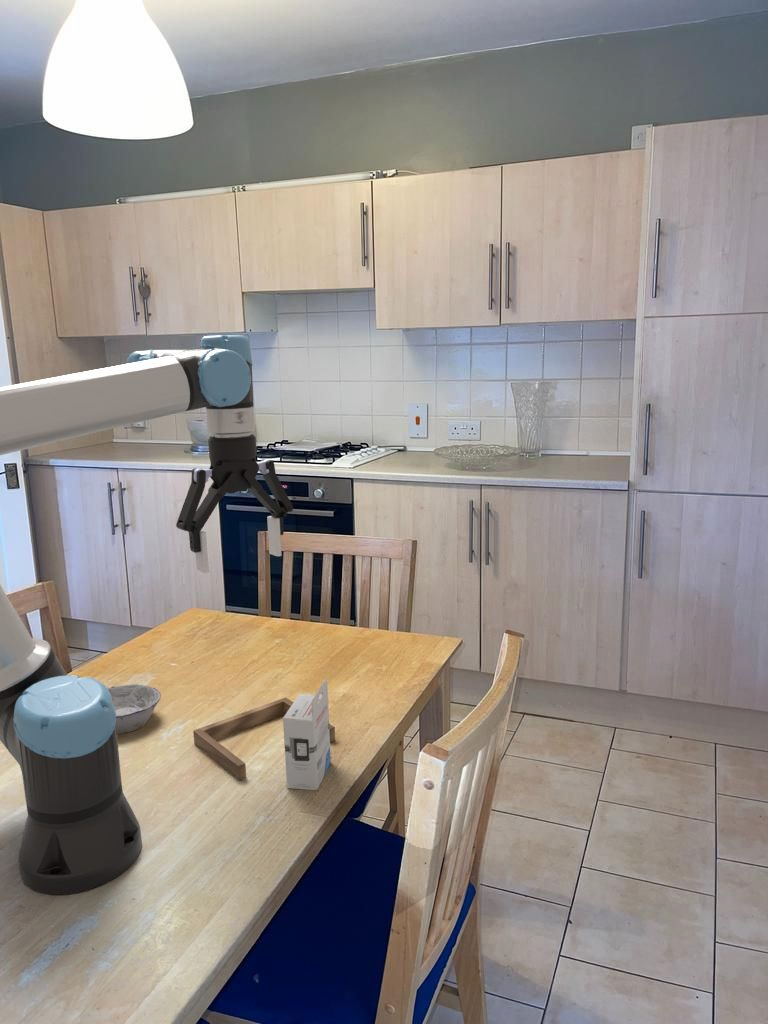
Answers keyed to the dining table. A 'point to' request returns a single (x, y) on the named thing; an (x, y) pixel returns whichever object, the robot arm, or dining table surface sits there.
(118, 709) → the bowl
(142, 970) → the dining table surface
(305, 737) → the ink box
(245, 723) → the wooden u-shaped frame
